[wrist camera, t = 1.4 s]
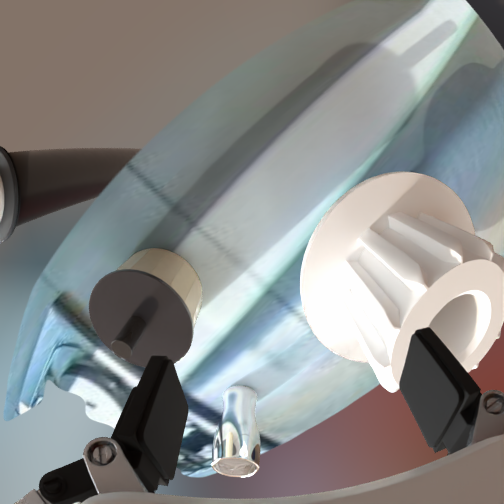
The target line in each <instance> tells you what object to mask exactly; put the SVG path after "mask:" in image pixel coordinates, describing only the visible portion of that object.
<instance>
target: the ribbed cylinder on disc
mask: <svg viewBox="0 0 504 504" xmlns="http://www.w3.org/2000/svg"><path fill="white" fill-rule="evenodd" d="M493 250H494V249H493V245H492V244H491V243H490V242H488V241H485V240H483V239H481V238H479V237H477V236H475V231H474V227H473V223H472V220H471V217H470V215H469V213H468V211H467V209H466V207H465V205H464V203H463V202H462V201H461V199H460V198H459V197H458V196H457V194H456V193H455V192H454V191H453V190H452V189H451V188H449V187H448V186H447V185H445V184H444V183H442V182H441V181H439V180H437V179H435V178H433V177H430V176H427V175H424V174H419V173H413V172H391V173H385V174H381V175H378V176H375V177H372V178H370V179H367V180H365V181H363V182H361V183H360V184H358V185H356V186H355V187H353V188H352V189H350V190H349V191H347V192H346V193H345V194H344V195H342V196H341V197H340V198H339V199H338V200H337V201H336V202H335V203H334V204H333V205H332V206H331V207H330V208H329V210H328V211H327V212H326V213H325V215H324V216H323V218H322V219H321V220H320V222H319V223H318V225H317V227H316V229H315V230H314V232H313V234H312V236H311V238H310V241H309V243H308V246H307V248H306V251H305V254H304V258H303V262H302V268H301V276H300V292H301V300H302V305H303V309H304V312H305V315H306V318H307V321H308V323H309V325H310V327H311V329H312V331H313V333H314V334H315V335H316V337H317V338H318V339H319V340H320V342H321V343H322V344H323V345H324V346H326V347H327V348H328V349H329V350H331V351H332V352H334V353H335V354H337V355H339V356H341V357H343V358H346V359H349V360H352V361H357V362H364V363H370V364H371V367H373V370H374V372H375V374H376V376H377V378H378V380H379V382H380V384H381V385H382V386H383V387H384V388H385V389H387V390H388V391H390V392H396V391H397V390H398V389H399V388H400V387H399V381H400V378H401V374H402V371H403V367H404V364H405V360H406V356H407V352H408V348H409V344H410V340H411V336H412V334H414V333H415V331H416V330H418V329H422V328H426V327H430V328H431V329H432V330H433V331H434V333H435V334H436V335H437V336H438V337H439V338H440V340H441V341H442V342H443V343H444V344H445V345H446V347H447V348H448V349H449V350H450V351H451V353H452V354H453V355H454V356H455V358H456V359H457V360H458V361H459V362H460V364H461V365H462V366H463V367H464V369H465V370H466V371H467V372H469V371H471V370H472V369H475V368H477V367H478V364H479V362H480V360H481V359H482V358H483V357H484V356H485V354H486V353H487V352H488V350H489V349H490V348H491V346H492V344H493V343H494V341H495V339H498V338H499V337H500V332H501V327H502V325H503V322H504V258H503V257H502V256H500V255H498V254H497V253H495V252H493Z"/></svg>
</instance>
